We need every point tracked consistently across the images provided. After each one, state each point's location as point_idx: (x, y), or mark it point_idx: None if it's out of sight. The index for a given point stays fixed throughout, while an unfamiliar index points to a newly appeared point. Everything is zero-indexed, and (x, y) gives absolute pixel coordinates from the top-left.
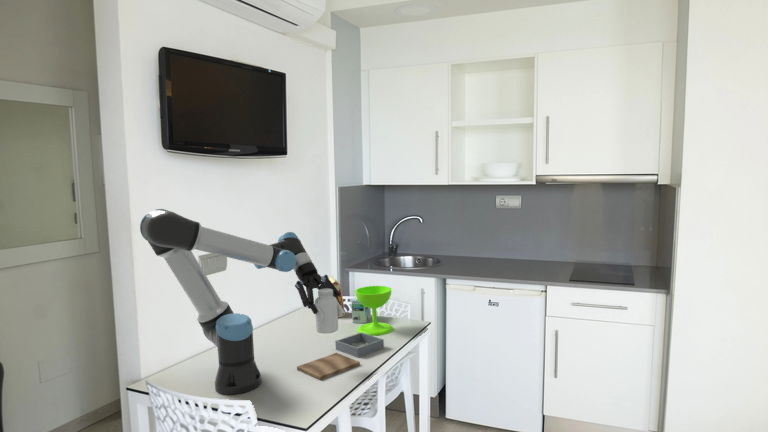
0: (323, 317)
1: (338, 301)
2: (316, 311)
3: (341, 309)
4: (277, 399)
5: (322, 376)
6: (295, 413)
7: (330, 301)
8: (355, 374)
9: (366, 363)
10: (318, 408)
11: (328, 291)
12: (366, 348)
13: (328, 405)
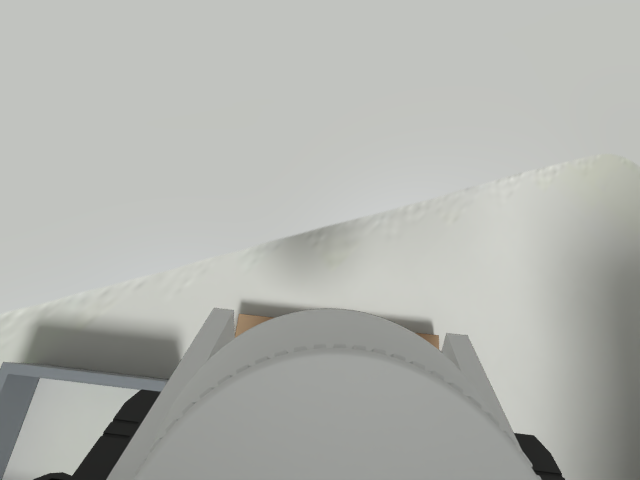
0: (462, 340)
1: (112, 443)
2: (525, 439)
3: (213, 331)
4: (631, 339)
5: (425, 334)
6: (619, 218)
7: (377, 318)
8: (317, 268)
9: (216, 306)
10: (551, 191)
11: (392, 368)
12: (118, 375)
13: (519, 183)
